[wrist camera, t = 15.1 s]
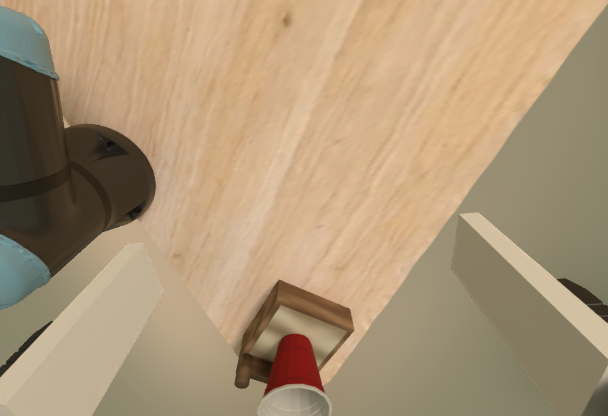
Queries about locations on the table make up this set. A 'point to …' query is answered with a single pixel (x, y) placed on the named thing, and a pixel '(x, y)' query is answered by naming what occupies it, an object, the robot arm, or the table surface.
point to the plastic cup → (294, 382)
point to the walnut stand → (291, 330)
